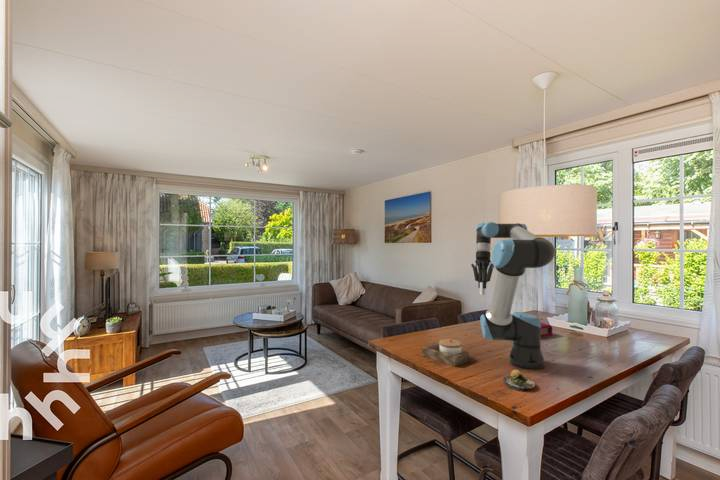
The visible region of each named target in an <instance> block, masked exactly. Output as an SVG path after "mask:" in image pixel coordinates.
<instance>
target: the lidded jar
mask: <svg viewBox="0 0 720 480" xmlns="http://www.w3.org/2000/svg"><path fill="white" fill-rule="evenodd" d="M438 344H439V352H443V353H446V354H449V355H452V356H455V355H457V354H460V353H462V345H463V344H462V342H461V341H460V340H458V339H452V338H444V339H440V340H439V342H438Z"/></svg>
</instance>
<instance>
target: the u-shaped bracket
mask: <svg viewBox="0 0 720 480" xmlns="http://www.w3.org/2000/svg"><path fill="white" fill-rule="evenodd" d="M421 356H422V357H424V356H425V357H424V358H427V357H428V358H427V359H430V358H431V359H430V360H433V361H436V360H437V362H439V361H440V362H439V363H442V362H443V363H442V364H445V363H446V365H448V364H449V365H448V366H451V365H452V367H454V366H456V367H457V366H460V365H462V364H465V363H467V362H469V361H470V352H469V351H463V352H462V351H461V353H460V354H457V355H455V356H452V355H449V354H446V353H443V352H440V348H439V342H434V343H433V344H430V345H427V346H424V347H421Z"/></svg>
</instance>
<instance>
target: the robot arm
mask: <svg viewBox="0 0 720 480" xmlns="http://www.w3.org/2000/svg"><path fill="white" fill-rule="evenodd" d="M475 231H476V242H475V244H476V245H475V246H476V247H475V251H476V252H475V261H474V263H471V264H470V265H471V268H472V270H473V271H472V272H473V275H474V280H475V281H476V282H477V283H478V289H479V295H482V296H485V295H486V289H487V283H488V282H491V278H492V274H493V271H494V268H495V269H496V271H497V274H496V279H495V285H494V289H493V292H492V293H493V295H492V299H491V305H490V308H488V309H486V312H485V314H481V315H480V317H479V319H480V320H479V321H480V330H481V332H482V336H483V338H484V339H485V340H488V341H489V340H490V341H512V346H511V349H510V353H509V355H508V362H510V364H512V365H514V366H517V367H520V368H525V369H530V370H531V369H532V370H534V369H535V370H536V369H543V368H545V366H546V362H545V361H546V360H545V358H544V355H543V351H542V349H541V348H542V347H541V341H542V339H541V338H542V337H541V325H540V323H541V319H540V317H538V316H536V315H534V314H530V313H525V312H520V311H514V312H513V313H512V312H511V311H512V308H513V304H514V299H515V295H516V292H517V288H518V283H519V280H520V277H521V276H524V274H525V272H526V269H539V268H542V267H545V266H547V265H549V264H550V263H551V262H552V261H553V259H554V257H555V255H556V248H555V246H554V244H553V243H552V242H551V241H550V240H549V239H547V238H544V237H539V236H537V235H535V234H533V233H532V232H531V231H529V230H528V227H527V225H526V224H525V223H496V222H493V221H488V222H486V223H485V222H481V223H477V225H476V230H475ZM493 238H494V239H499V240H498V241H496V243H495V244H494V246H493V249H492V248H491V247H492V246H491V244H492V243H491V241H492V239H493ZM491 249H492V254H491ZM491 255H492V256H491ZM491 259H492V260H491ZM511 313H512V314H511Z"/></svg>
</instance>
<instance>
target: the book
mask: <svg viewBox="0 0 720 480" xmlns="http://www.w3.org/2000/svg"><path fill="white" fill-rule="evenodd" d="M540 325H541V338H546V337H551V336H553V325H550V324H547V323H543V322H540Z"/></svg>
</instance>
